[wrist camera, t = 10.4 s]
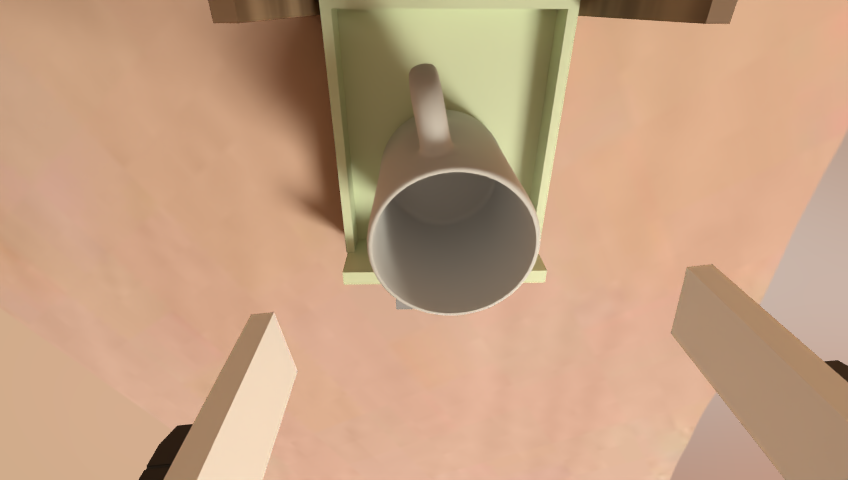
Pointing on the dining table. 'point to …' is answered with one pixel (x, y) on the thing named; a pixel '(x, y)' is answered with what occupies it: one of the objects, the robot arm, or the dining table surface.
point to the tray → (444, 89)
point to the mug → (448, 211)
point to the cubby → (660, 3)
